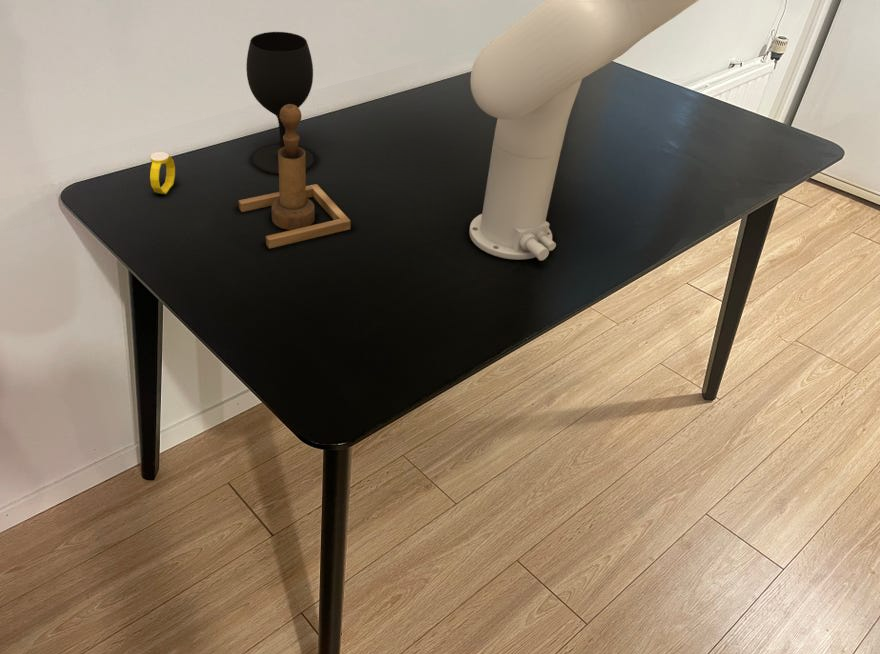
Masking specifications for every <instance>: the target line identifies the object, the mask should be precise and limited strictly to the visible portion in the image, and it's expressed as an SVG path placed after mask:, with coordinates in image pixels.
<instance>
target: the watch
mask: <svg viewBox="0 0 880 654" xmlns="http://www.w3.org/2000/svg"><path fill="white" fill-rule="evenodd" d="M149 157H150V158H149V159H150V162H151V165H150V172H149V173H150V174H149V180H150V181H149V182H150V186H151V189H152V190H153V192H154V193H157V194H160V195H167V194H168V192H169V191H170V189H171V188H172V187H173V186H174V184H175V178H176V164H175V161H174V159H173V158H172V156H171V155H169V153H168V152H165V151H155V152H153V153H151V154H150V156H149ZM164 164H165V166H166V168H165V169H166V170H165V172H166V173H165V179H164V183H163V184H162V185H161V183H160V172H161V171H160V170H161V167H162V165H164Z"/></svg>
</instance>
